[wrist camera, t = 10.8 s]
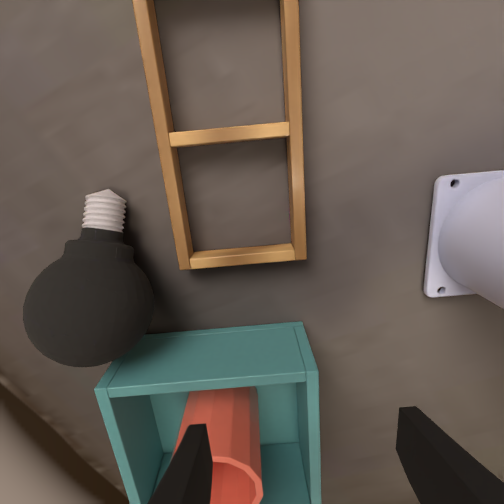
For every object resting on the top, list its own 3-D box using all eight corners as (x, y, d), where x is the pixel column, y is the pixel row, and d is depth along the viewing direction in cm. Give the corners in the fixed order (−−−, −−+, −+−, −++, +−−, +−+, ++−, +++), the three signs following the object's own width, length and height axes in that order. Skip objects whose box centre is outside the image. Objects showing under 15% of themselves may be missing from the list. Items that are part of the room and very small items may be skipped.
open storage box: (302, 320, 21) (318, 370, 16) (306, 440, 24) (321, 512, 19) (129, 335, 21) (93, 389, 16) (159, 452, 24) (136, 526, 19)
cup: (254, 365, 21) (257, 451, 15) (261, 422, 23) (266, 521, 16) (182, 372, 21) (155, 460, 15) (194, 428, 23) (174, 529, 16)
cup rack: (292, -31, 14) (297, -52, 13) (302, 252, 19) (306, 259, 18) (137, -15, 15) (125, -35, 13) (184, 262, 19) (179, 270, 18)
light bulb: (123, 170, 13) (99, 396, 13) (181, 203, 19) (167, 355, 19) (6, 168, 14) (-21, 375, 14) (97, 200, 21) (81, 343, 20)
